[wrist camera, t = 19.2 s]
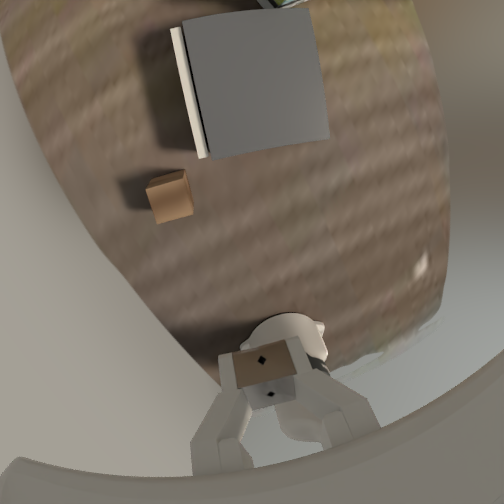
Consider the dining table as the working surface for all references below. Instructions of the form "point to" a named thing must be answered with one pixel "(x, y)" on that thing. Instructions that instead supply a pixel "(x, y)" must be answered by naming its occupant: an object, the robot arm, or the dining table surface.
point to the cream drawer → (189, 92)
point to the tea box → (279, 3)
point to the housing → (257, 79)
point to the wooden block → (170, 196)
